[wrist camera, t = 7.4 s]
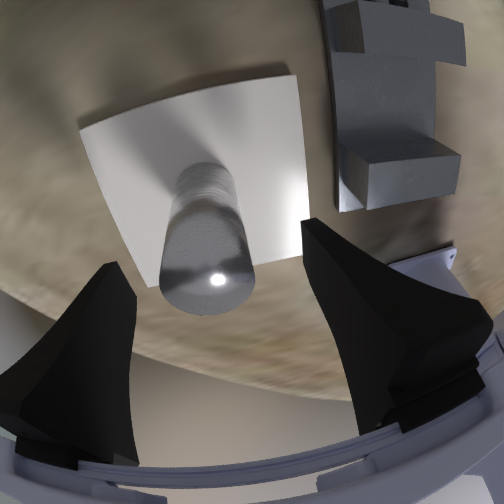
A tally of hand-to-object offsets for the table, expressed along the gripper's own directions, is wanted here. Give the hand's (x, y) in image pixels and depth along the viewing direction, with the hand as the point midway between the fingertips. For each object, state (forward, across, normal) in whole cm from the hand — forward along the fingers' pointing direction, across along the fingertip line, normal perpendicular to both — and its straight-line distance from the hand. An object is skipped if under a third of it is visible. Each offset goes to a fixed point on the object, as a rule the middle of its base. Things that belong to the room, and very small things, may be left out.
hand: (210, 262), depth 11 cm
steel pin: (+6, 0, 0) cm, 6 cm away
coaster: (+6, 0, 0) cm, 6 cm away
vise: (+6, -11, -5) cm, 14 cm away
